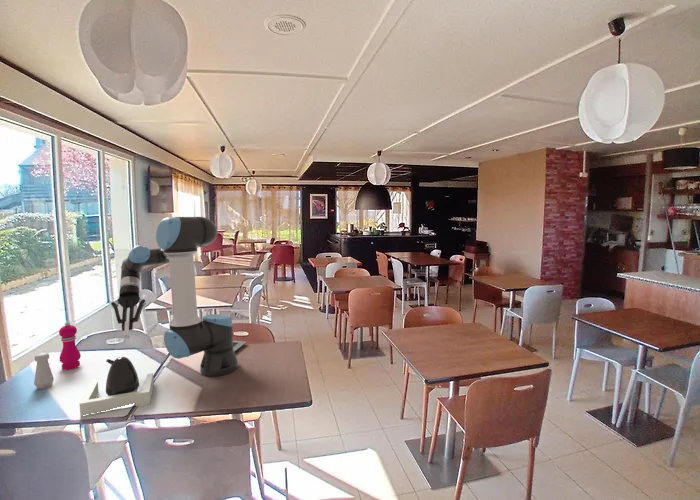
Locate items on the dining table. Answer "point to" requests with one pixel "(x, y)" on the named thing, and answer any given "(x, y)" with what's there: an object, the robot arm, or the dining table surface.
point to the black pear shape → (121, 377)
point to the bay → (115, 398)
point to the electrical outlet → (237, 345)
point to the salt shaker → (43, 372)
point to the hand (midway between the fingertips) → (126, 336)
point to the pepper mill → (69, 347)
